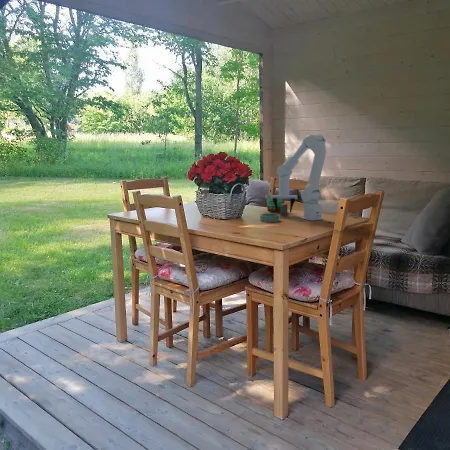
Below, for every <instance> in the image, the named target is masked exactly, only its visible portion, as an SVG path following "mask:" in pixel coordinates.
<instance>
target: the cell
mask: <svg viewBox="0 0 450 450" xmlns="http://www.w3.org/2000/svg"><path fill="white" fill-rule="evenodd" d="M279 216H282V217H283V216H284V217H286V216H288V204H287V203H284V204H280V212H279Z"/></svg>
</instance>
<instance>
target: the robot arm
mask: <svg viewBox="0 0 450 450" xmlns="http://www.w3.org/2000/svg"><path fill="white" fill-rule="evenodd" d="M308 150H311V151H312V153H313V154H314V156H313V160H312V163H311V164H312V165H311V168H310V169H311V170H310V174H309V179H308V183H307V184H306V185H305V187H304V189H303V191H302V192H301V195H300V196H301V200H302V201H303V216H300V219H302V220H308V221H317V220H318V221H319V220H323V218H324V217H322V216H323V215H322V214H323V213H322V212H323V207H322V204H320V203H319V200H320V199H321V196H322V195H321V187H320V185H319V184H320V182H321V181H320V180H321V176H322V171H323V167H324V163H325V158H326V156H327V155H326V154H327V149H326V139H325V137H324V136H323V135H322V134H320V133H319V134H307V135H306V136H305V138H304V139H302V142H301V144H300V145H299V147H298V148H297V150H296V151H295V152H294V153H293V154H291V155H289V156H287V158H286V161H284V162H283V163H282V164H281V165H279V166H278V167H277V169H276V173H277V175H278V194H270V195H271V199H273V202H274V204H275V208H276V212H275V213H278V212H277V199H285V200H289V201H290V203H289V204H290V205H289V212H290V213H292V210H293V206H294V204H295V202H296V200H298V195H297V194H295V195H294V194H290V178H291V175H292V171H293V169H294V168H295V167H296V166H297V165H298V164H299V159H300V158H301V157H302V156H303V155H304V154H305V152H307V151H308Z"/></svg>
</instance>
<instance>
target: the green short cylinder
mask: <svg viewBox="0 0 450 450" xmlns="http://www.w3.org/2000/svg"><path fill="white" fill-rule="evenodd" d="M259 220H260V222H264V223H274V222H280V213H275V212H270V213H268V212H266V213H261V214H259Z"/></svg>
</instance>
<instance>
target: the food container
mask: <svg viewBox="0 0 450 450" xmlns="http://www.w3.org/2000/svg"><path fill="white" fill-rule="evenodd" d="M271 195H272V194H267V193H265V196H264V197H265V199H266V209H267V212H270V213H280V204H285V201H286V199H277V212H276V208H275V204H274V202H273V199H271Z"/></svg>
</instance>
